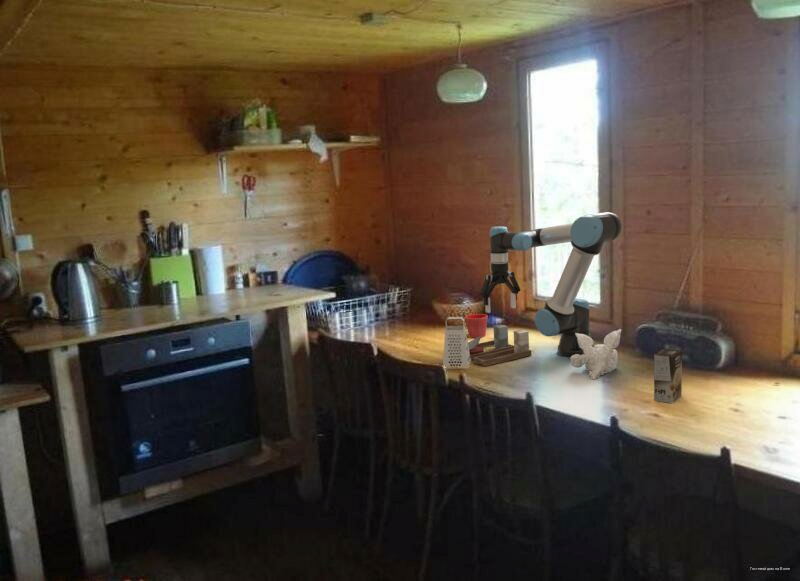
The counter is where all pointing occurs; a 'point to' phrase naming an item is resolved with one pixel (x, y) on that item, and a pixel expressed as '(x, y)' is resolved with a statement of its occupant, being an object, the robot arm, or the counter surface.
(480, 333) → the flower pot
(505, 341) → the lane
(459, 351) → the grater
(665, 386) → the coffee box
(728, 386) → the counter surface
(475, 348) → the canned food
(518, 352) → the lane
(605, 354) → the white sculpted figure
